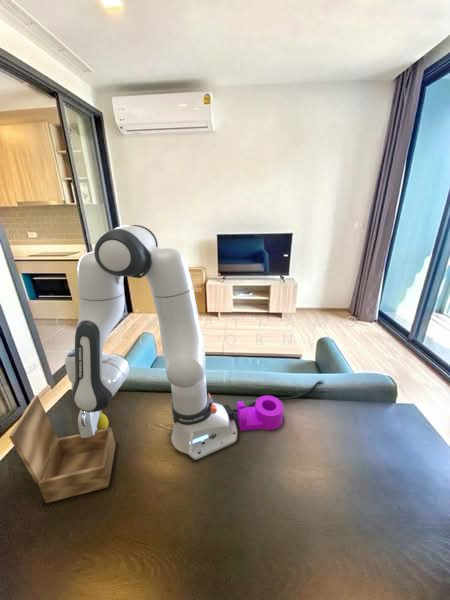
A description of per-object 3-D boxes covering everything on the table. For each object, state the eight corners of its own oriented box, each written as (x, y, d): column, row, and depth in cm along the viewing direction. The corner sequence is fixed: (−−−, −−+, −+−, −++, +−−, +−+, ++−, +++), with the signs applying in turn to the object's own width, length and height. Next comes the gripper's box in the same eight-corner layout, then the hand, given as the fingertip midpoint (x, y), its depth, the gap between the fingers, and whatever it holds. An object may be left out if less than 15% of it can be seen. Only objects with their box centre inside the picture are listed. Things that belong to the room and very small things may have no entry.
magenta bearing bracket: (277, 407, 97) (278, 394, 95) (285, 428, 88) (286, 414, 86) (236, 410, 96) (236, 397, 93) (240, 432, 86) (241, 418, 84)
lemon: (103, 440, 83) (98, 422, 80) (89, 438, 84) (83, 420, 82) (113, 427, 88) (109, 409, 86) (99, 424, 89) (95, 407, 87)
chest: (115, 445, 82) (111, 427, 80) (108, 487, 70) (103, 467, 67) (62, 457, 79) (56, 438, 76) (45, 503, 66) (37, 483, 64)
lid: (37, 395, 70) (34, 395, 70) (12, 435, 57) (8, 436, 57) (57, 437, 76) (54, 438, 76) (39, 481, 63) (35, 482, 63)
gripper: (93, 414, 71) (101, 449, 76) (105, 371, 90) (111, 401, 95) (68, 418, 70) (79, 454, 75) (86, 374, 88) (93, 405, 93)
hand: (97, 424), depth 85 cm, fingers closed on lemon, 5 cm apart
